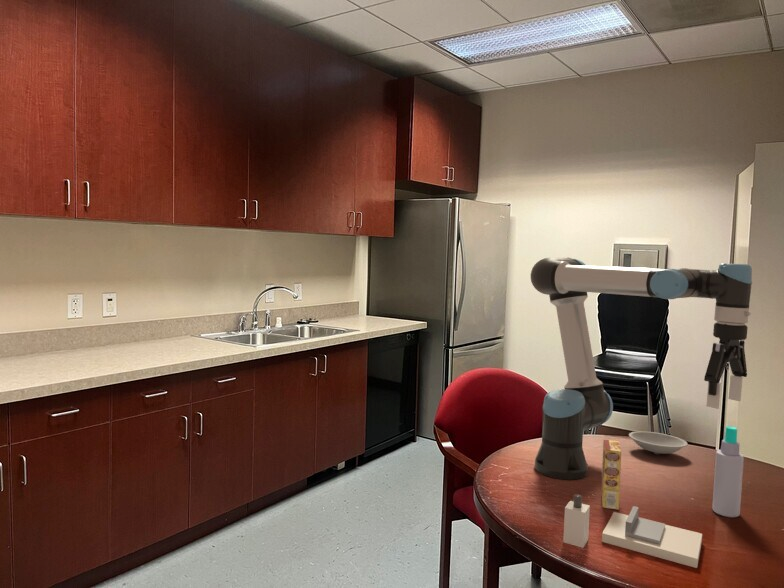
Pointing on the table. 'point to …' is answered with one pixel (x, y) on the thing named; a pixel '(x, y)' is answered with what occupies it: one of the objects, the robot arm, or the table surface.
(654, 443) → the dish
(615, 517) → the socket plate
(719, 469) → the spray bottle
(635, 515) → the shutter
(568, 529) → the plug
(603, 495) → the candy box
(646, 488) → the table surface
